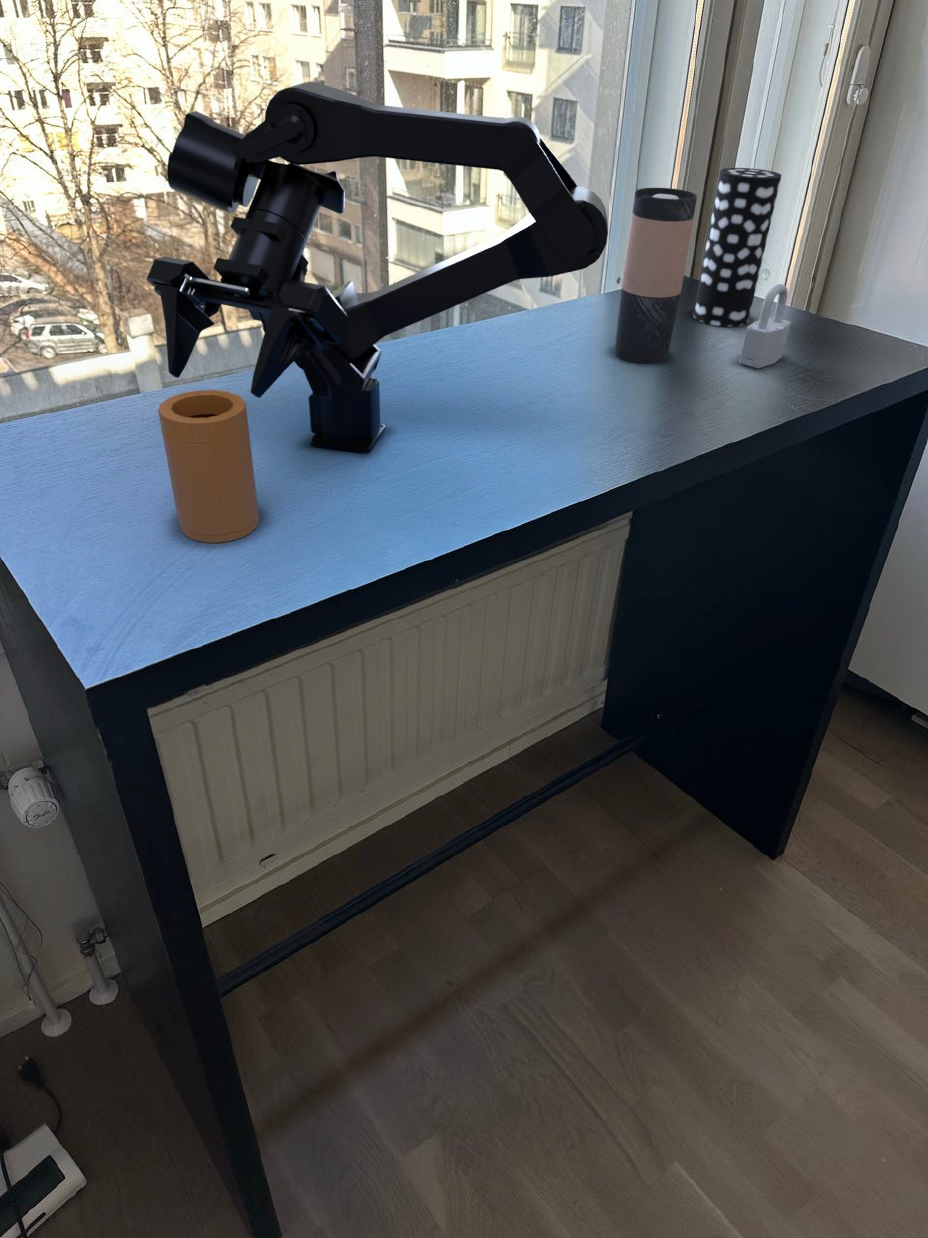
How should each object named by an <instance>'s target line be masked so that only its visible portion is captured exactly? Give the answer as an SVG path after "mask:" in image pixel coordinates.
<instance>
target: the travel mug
mask: <svg viewBox="0 0 928 1238" xmlns="http://www.w3.org/2000/svg"><path fill="white" fill-rule="evenodd" d="M697 201H698V196H697V194H696V193H694V192H691V191H689V190H688V191H687V190H684V189H679V188H670V187H642V188H640V189H636V190H635V192H634V199H633V206H632V214H631V219H630V226H629V232H628V233H629V234H628V239H627V241H628V242H627V247H626V253H625V260H624V266H623V273H622V280H621V289H620V296H619V304H618V305H619V306H618V315H617V322H616V323H617V324H616V331H615V332H616V334H615V342H614V344H615V345H614V355H615V356H616V357H617V358H618V359H621V360H623V361H625V362H628V363H634V364H640V365H655V364H660V363H663V362H665V361H666V360H667V359H668V355H669V351H670V347H671V342H672V336H673V332H674V328H675V323H676V319H677V312H678V308H679V303H680V299H681V294H682V289H683V282H684V277H685V270H686V265H687V259H688V253H689V248H690V247H689V246H690V240H691V234H692V229H693V223H694V218H695V217H694V216H695V211H696V205H697Z"/></svg>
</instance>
